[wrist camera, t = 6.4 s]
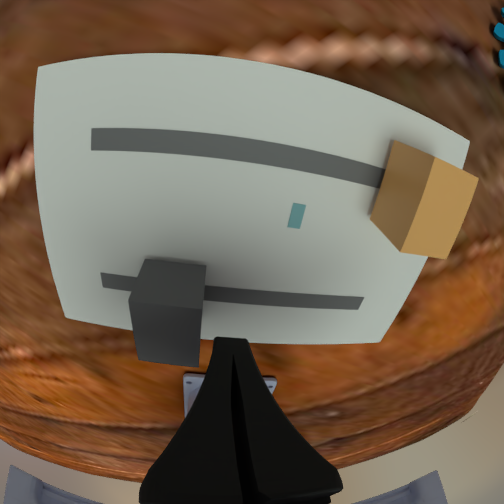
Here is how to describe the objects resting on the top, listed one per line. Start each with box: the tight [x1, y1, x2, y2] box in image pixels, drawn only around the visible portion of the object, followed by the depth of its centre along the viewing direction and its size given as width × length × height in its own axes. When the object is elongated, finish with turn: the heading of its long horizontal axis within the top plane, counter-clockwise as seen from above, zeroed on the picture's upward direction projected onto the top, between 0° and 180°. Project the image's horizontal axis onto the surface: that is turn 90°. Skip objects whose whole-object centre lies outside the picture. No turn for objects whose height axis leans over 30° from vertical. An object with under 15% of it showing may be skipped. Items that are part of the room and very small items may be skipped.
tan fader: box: [370, 140, 479, 259], centre depth 10 cm, size 4×3×3 cm
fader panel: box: [34, 53, 470, 344], centre depth 14 cm, size 15×22×2 cm
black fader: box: [128, 259, 207, 367], centre depth 13 cm, size 4×3×3 cm
